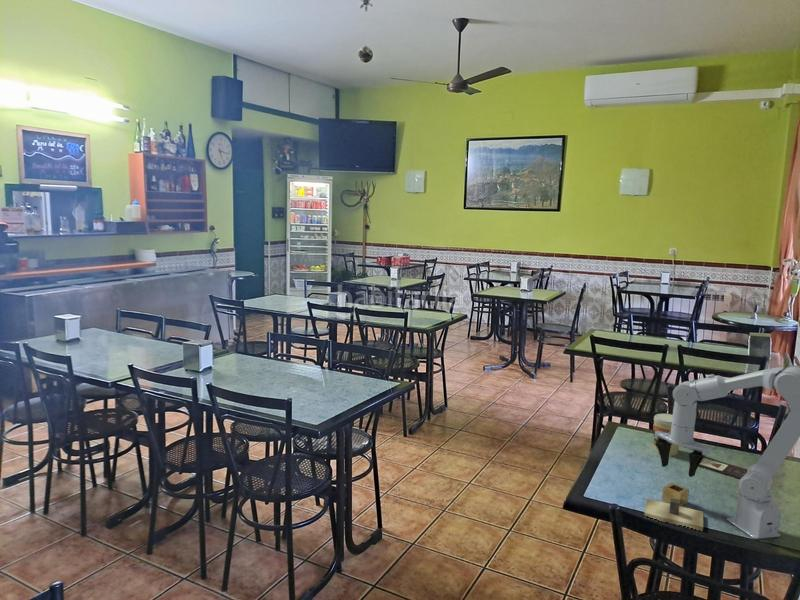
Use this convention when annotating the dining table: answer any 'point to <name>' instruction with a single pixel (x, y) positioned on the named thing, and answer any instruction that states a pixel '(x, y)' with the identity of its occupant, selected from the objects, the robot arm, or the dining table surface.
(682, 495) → the collar
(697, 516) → the post stand
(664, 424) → the coffee cup
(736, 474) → the chocolate bar
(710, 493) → the dining table surface
